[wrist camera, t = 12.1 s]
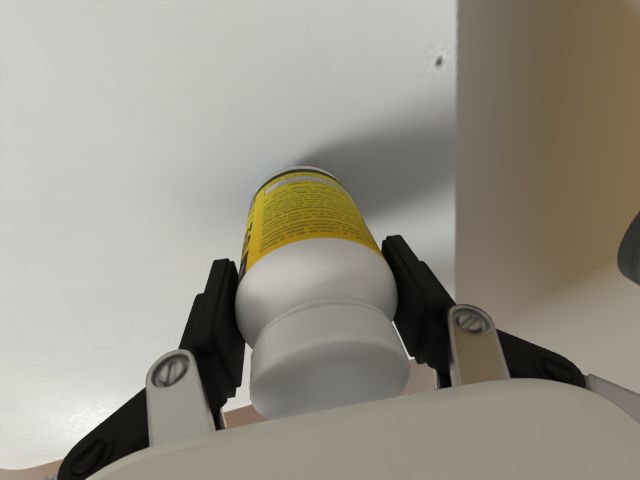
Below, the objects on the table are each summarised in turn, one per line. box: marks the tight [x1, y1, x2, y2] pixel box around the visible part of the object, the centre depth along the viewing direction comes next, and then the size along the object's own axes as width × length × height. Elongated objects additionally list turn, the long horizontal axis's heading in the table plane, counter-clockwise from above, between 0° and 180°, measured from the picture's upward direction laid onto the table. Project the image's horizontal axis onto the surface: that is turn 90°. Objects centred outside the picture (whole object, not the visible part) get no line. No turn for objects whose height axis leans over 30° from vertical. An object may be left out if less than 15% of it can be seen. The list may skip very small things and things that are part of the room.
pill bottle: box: [235, 166, 410, 420], centre depth 12 cm, size 6×6×11 cm
